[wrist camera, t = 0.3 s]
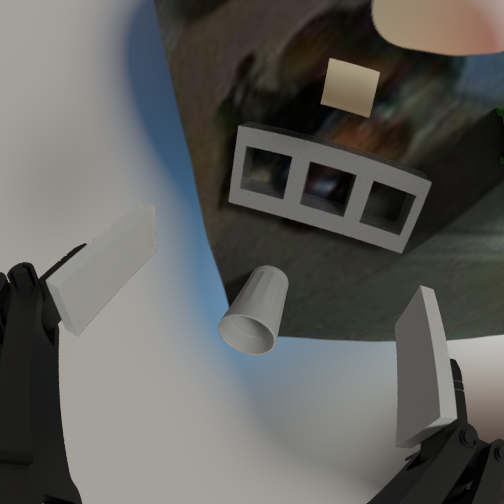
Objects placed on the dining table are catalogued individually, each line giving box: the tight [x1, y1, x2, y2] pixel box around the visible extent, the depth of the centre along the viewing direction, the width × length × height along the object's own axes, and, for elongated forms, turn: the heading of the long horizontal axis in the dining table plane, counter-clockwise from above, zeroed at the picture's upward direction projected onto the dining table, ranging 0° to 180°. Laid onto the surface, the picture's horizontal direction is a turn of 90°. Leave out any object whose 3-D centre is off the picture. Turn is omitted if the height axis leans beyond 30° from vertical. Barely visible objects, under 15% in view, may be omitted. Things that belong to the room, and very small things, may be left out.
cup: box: [218, 266, 289, 355], centre depth 42 cm, size 8×8×12 cm
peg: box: [321, 58, 380, 118], centre depth 24 cm, size 4×4×12 cm
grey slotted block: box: [229, 121, 432, 253], centre depth 34 cm, size 10×23×4 cm, turn 81°
